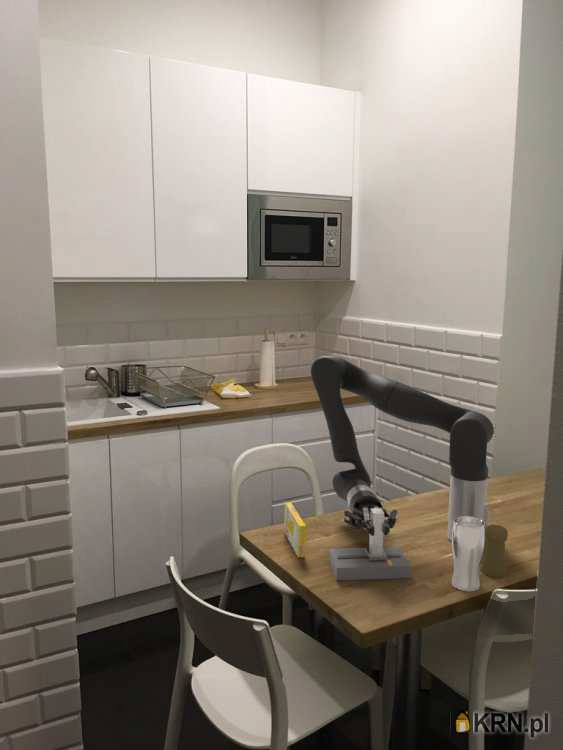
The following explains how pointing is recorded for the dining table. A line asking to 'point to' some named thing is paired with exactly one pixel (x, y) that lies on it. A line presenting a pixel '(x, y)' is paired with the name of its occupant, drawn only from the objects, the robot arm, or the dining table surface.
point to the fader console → (368, 564)
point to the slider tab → (376, 536)
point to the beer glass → (467, 552)
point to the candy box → (295, 530)
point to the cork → (494, 552)
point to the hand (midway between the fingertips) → (379, 531)
